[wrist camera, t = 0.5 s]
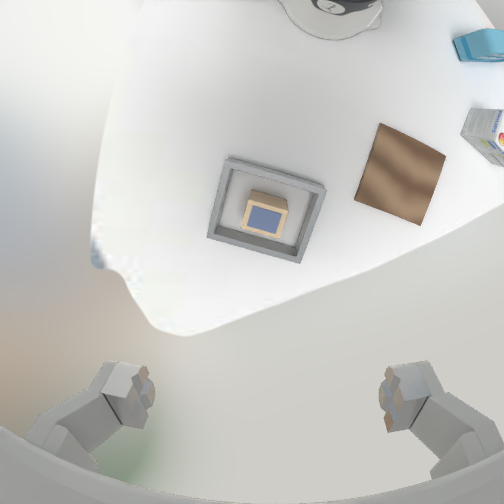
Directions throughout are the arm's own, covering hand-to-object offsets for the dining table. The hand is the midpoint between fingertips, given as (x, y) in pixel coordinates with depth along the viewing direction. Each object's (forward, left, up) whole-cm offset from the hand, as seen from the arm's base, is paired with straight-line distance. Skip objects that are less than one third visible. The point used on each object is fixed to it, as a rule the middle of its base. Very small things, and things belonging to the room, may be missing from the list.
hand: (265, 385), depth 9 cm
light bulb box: (-22, +36, -42) cm, 60 cm away
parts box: (+6, 0, -42) cm, 42 cm away
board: (-7, +21, -42) cm, 47 cm away
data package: (-39, +30, -42) cm, 65 cm away
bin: (+6, 0, -42) cm, 42 cm away
